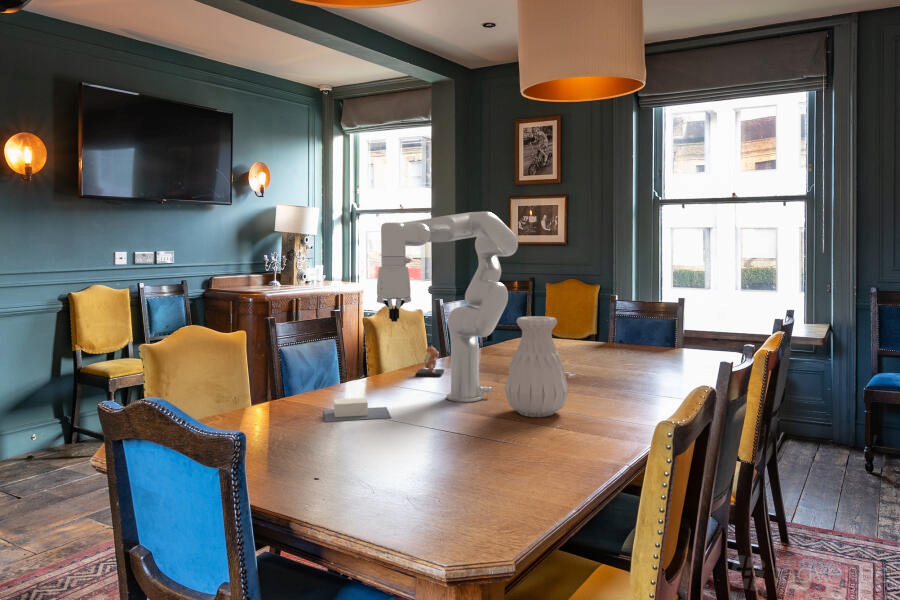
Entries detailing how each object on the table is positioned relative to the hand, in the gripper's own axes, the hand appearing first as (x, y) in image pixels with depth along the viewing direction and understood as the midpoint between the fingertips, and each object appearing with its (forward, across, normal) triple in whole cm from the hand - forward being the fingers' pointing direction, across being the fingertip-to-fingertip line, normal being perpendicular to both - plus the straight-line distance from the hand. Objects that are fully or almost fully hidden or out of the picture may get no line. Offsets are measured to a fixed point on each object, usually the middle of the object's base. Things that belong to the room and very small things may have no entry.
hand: (394, 321), depth 216 cm
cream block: (+27, +9, 0) cm, 28 cm away
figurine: (+29, -22, -61) cm, 71 cm away
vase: (+29, -43, +10) cm, 53 cm away
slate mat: (+29, +12, 0) cm, 31 cm away
